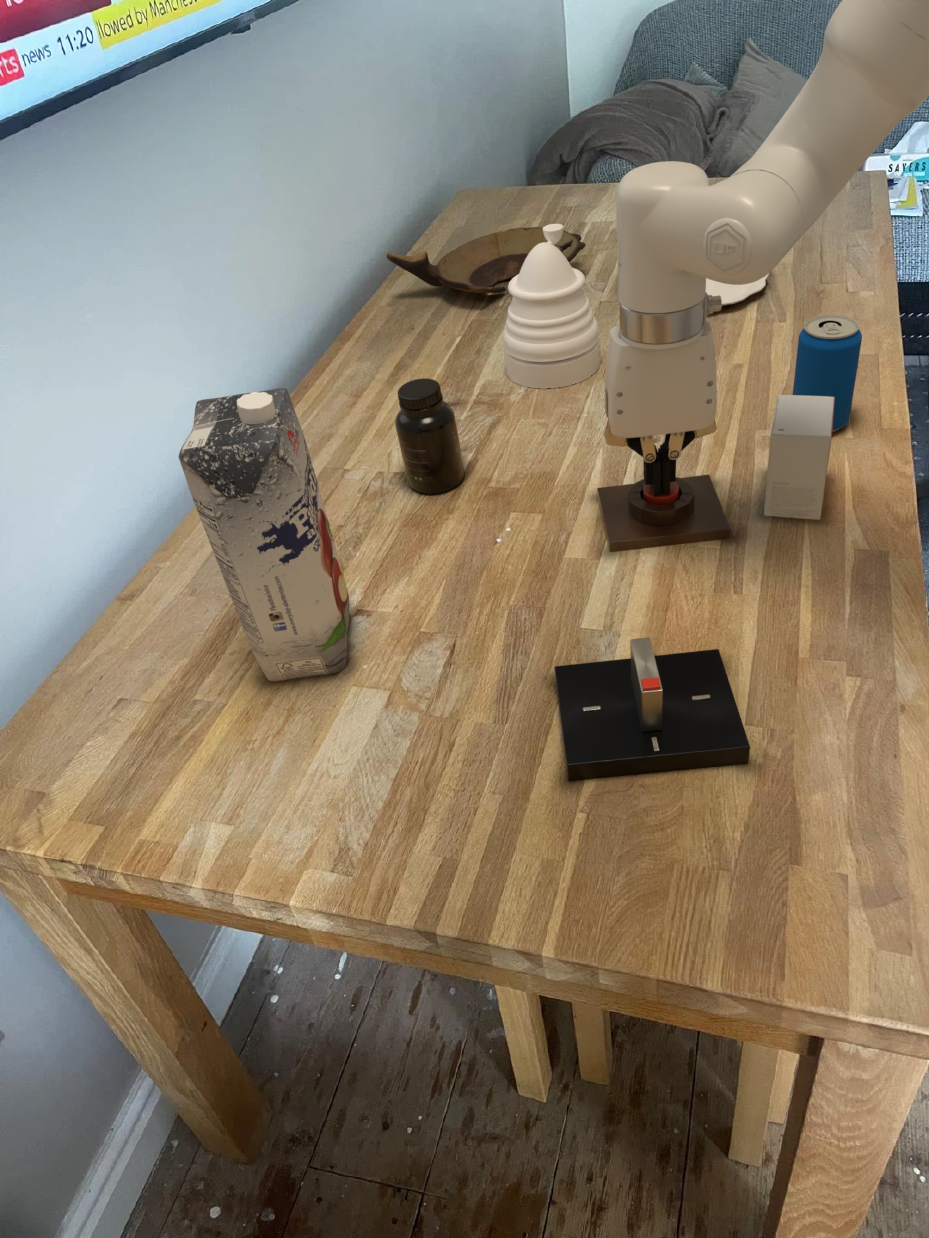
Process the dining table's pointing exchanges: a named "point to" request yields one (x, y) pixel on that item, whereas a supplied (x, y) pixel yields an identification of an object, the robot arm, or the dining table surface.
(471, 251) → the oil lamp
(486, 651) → the dining table surface
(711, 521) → the button block
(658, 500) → the button
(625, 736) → the console
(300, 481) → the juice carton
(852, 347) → the beverage can
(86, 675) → the dining table surface
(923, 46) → the robot arm
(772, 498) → the small box
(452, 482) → the supplement bottle
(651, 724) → the knob
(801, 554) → the dining table surface
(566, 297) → the honey pot
